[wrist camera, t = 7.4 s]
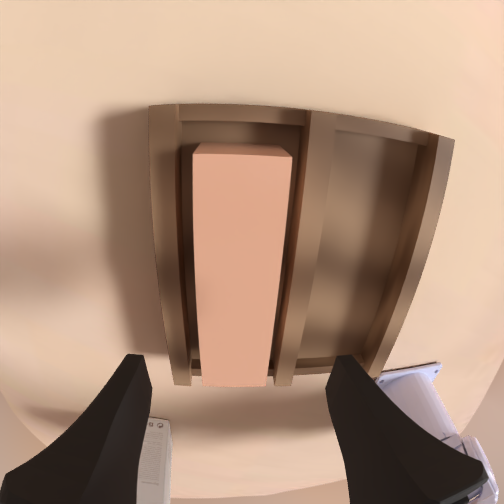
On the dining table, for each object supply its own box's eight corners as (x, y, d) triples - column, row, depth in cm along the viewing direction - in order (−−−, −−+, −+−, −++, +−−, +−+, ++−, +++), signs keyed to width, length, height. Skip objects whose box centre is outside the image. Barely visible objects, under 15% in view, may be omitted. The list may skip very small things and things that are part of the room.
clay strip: (261, 348, 22) (265, 386, 19) (205, 348, 21) (202, 386, 18) (279, 145, 15) (292, 157, 12) (201, 142, 15) (192, 153, 12)
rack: (367, 351, 24) (378, 376, 22) (178, 355, 23) (174, 385, 20) (426, 131, 16) (454, 139, 13) (163, 104, 15) (148, 105, 12)
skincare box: (130, 413, 27) (111, 516, 16) (172, 419, 28) (163, 526, 17) (138, 439, 30) (126, 528, 19) (176, 444, 30) (170, 535, 20)
